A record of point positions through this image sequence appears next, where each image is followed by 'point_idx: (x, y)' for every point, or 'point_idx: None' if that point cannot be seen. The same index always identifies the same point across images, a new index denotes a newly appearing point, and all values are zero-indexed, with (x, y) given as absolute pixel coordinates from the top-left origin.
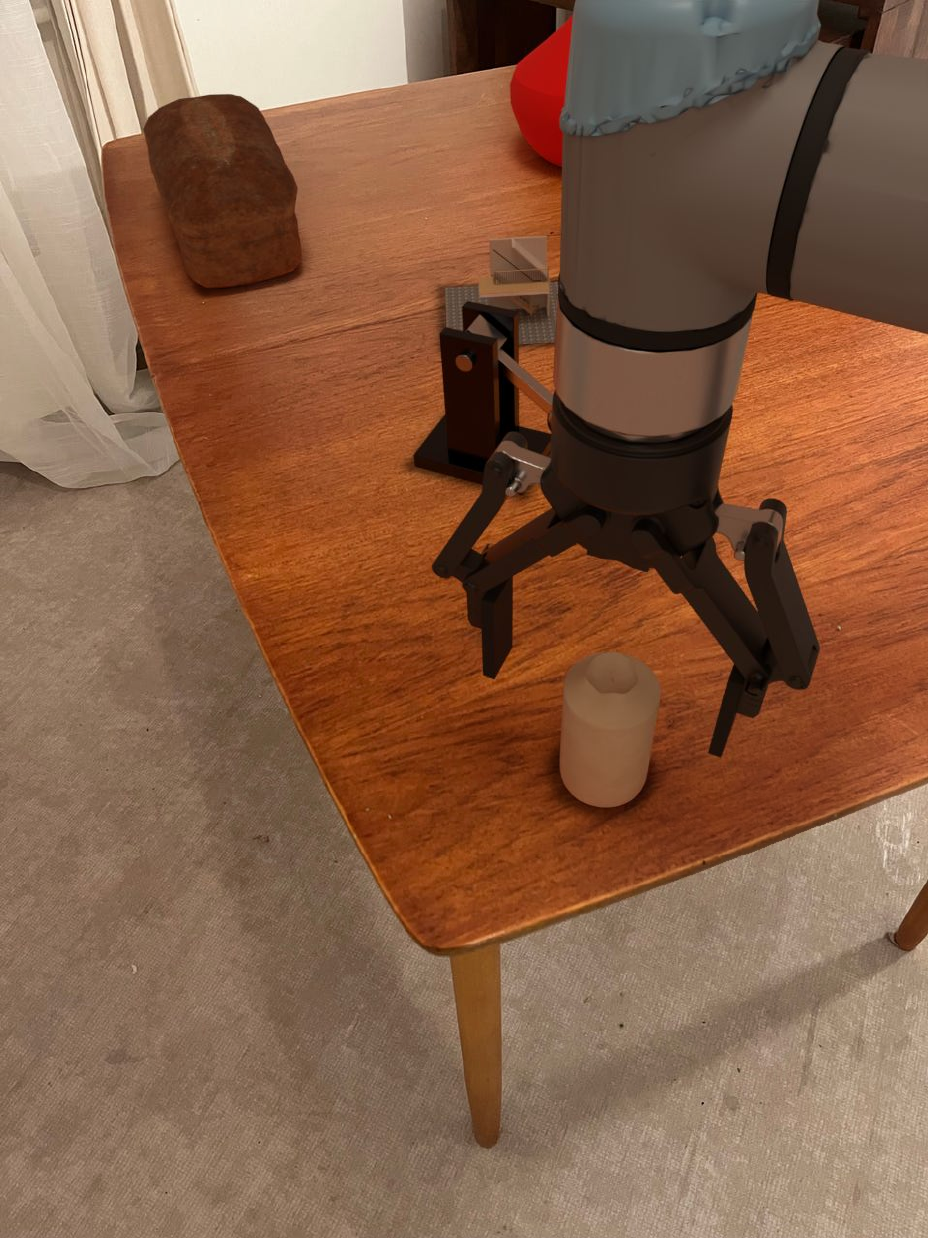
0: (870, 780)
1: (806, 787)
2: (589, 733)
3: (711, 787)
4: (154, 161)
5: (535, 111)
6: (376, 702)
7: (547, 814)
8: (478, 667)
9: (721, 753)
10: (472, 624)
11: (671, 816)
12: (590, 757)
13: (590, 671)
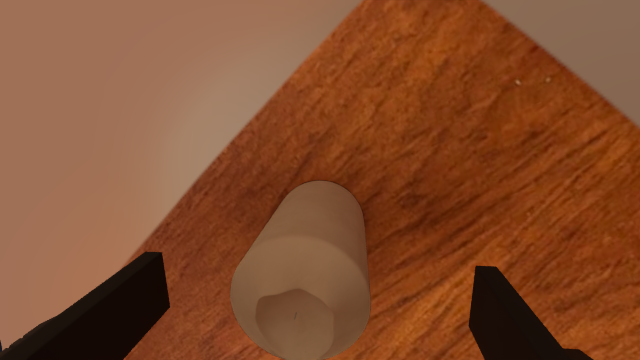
0: None
1: None
2: (307, 226)
3: (224, 239)
4: None
5: None
6: (590, 213)
7: (353, 155)
8: None
9: (140, 256)
10: (579, 353)
11: (245, 198)
12: (310, 207)
13: (330, 320)
